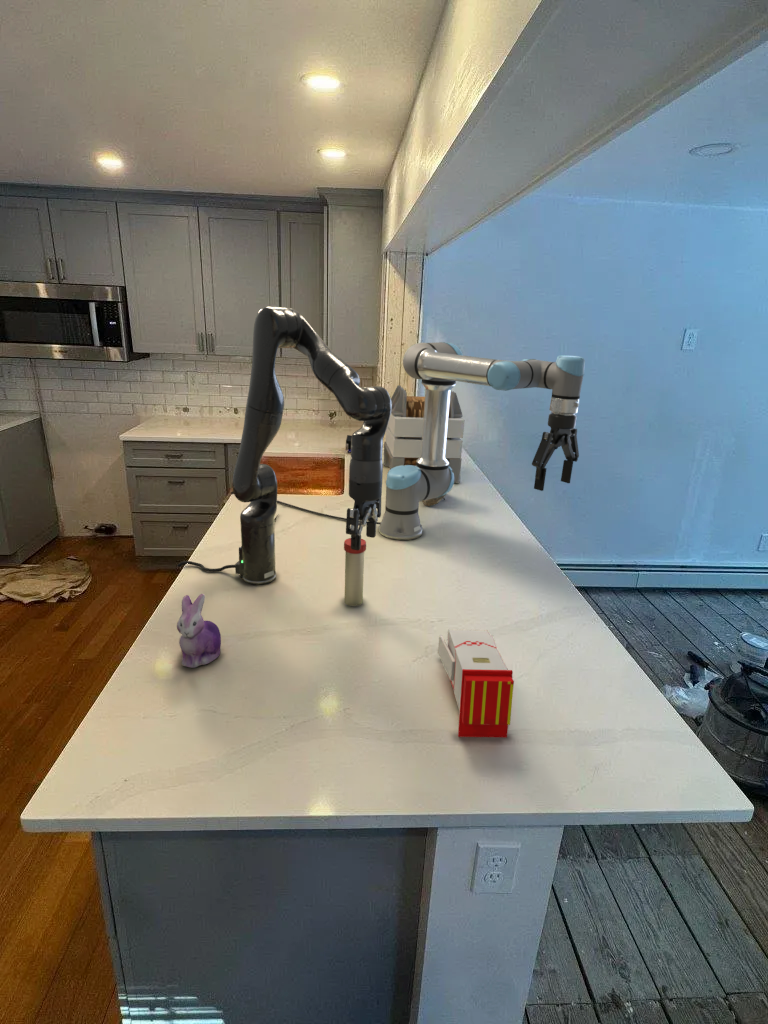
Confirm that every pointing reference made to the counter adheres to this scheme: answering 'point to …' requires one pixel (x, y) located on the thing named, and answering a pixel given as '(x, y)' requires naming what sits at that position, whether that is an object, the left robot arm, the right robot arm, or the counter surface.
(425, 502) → the fossil
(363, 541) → the lid
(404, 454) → the white wooden crate
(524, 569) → the counter surface
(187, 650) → the figurine
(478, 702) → the toy
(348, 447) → the figurine character
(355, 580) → the jar
